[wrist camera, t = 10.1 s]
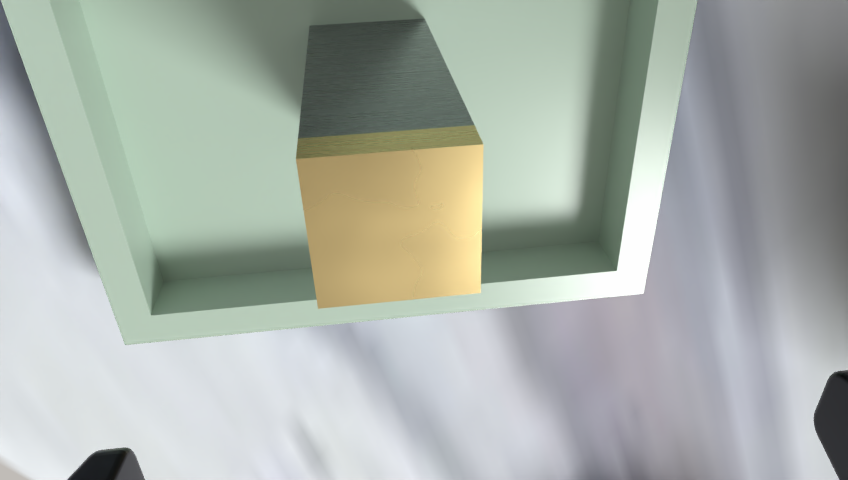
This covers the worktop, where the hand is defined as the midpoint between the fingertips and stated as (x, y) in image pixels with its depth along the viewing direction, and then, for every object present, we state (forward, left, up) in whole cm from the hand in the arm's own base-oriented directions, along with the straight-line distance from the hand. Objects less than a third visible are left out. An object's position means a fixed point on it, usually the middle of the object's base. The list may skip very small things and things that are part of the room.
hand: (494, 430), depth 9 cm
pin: (+1, -1, -12) cm, 12 cm away
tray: (+1, -1, -13) cm, 13 cm away
